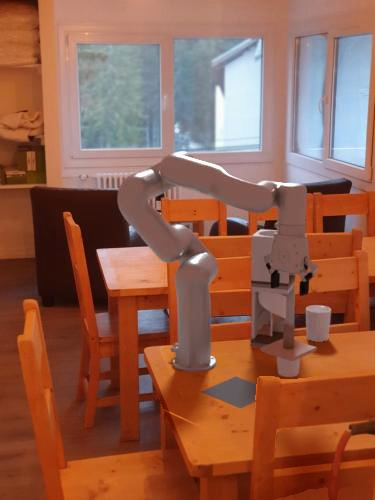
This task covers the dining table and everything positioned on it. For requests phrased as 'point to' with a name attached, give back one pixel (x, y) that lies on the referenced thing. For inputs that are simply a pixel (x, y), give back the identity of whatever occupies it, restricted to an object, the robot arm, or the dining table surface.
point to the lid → (288, 346)
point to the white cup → (318, 322)
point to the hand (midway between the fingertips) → (289, 291)
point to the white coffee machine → (269, 294)
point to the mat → (234, 391)
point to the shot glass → (288, 367)
